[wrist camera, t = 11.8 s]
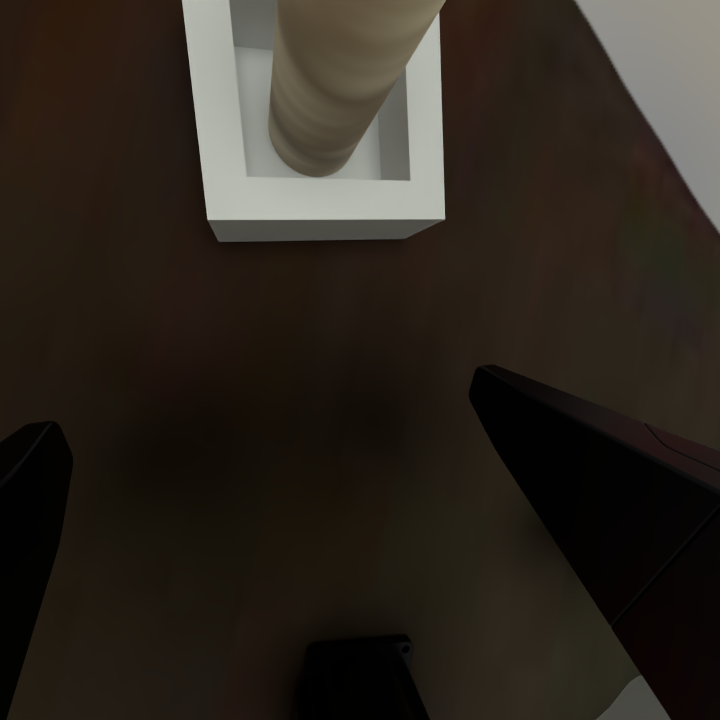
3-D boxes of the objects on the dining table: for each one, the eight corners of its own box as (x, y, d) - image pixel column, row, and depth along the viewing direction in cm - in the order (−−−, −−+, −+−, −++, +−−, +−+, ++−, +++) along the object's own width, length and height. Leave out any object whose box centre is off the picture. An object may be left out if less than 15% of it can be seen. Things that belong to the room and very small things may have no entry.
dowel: (368, 117, 18) (702, -456, 5) (332, 193, 18) (564, -162, 5) (291, 64, 17) (436, -912, 3) (253, 145, 17) (248, -523, 3)
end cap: (404, 238, 20) (444, 219, 16) (218, 242, 18) (207, 219, 14) (395, 44, 19) (437, -35, 15) (193, 19, 16) (171, -85, 12)
